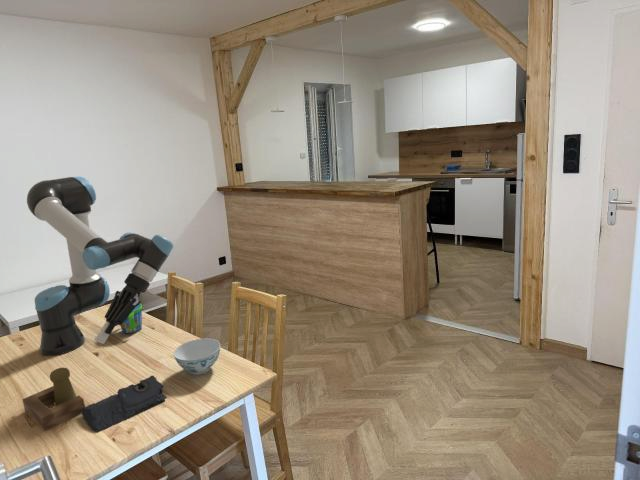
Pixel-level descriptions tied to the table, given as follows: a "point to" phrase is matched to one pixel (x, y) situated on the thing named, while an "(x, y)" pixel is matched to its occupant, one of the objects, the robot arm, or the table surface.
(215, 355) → the chinaware
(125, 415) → the dark slate chunk
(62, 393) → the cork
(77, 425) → the table surface
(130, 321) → the snack cup
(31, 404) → the walnut pocket
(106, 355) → the table surface
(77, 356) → the table surface
